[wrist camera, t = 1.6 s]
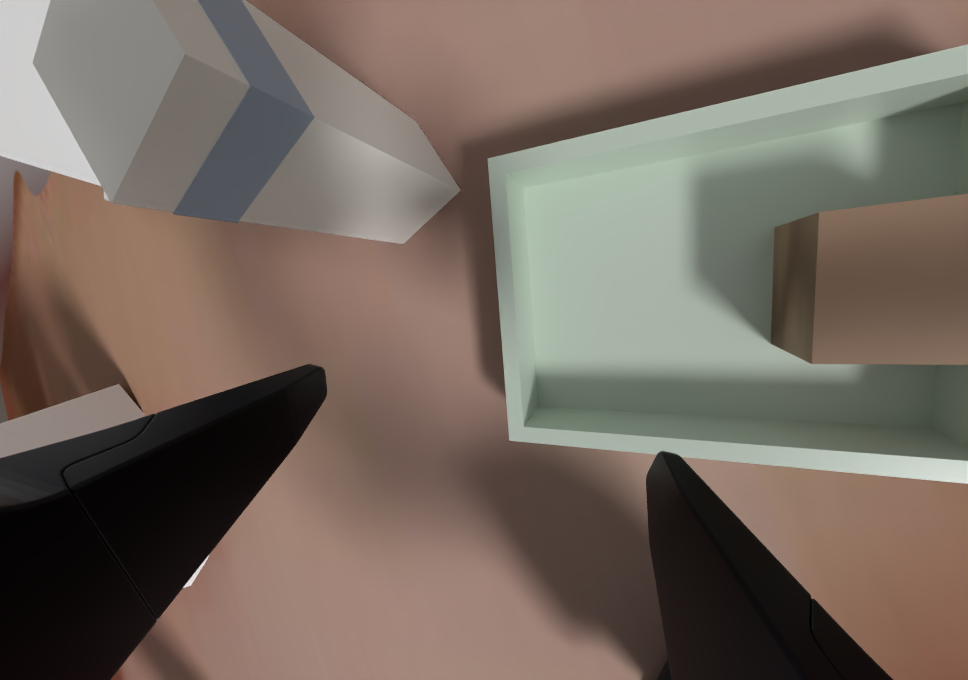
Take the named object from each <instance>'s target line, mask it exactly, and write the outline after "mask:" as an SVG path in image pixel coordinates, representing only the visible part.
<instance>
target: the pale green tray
mask: <svg viewBox="0 0 968 680" xmlns="http://www.w3.org/2000/svg"><path fill="white" fill-rule="evenodd" d="M488 170H489V183H490V196H491V209H492V222H493V235H494V248H495V261H496V274H497V287H498V300H499V313H500V326H501V339H502V352H503V365H504V378H505V391H506V404H507V417H508V430H509V441H518V442H528V443H539V444H550V445H560V446H571V447H582V448H593V449H603V450H614V451H625V452H635V453H646V454H658V453H659V452H660V451H666V452H671V453H675V454H678V455H679V456H680V457H689V458H699V459H710V460H721V461H731V462H742V463H753V464H763V465H774V466H785V467H795V468H806V469H817V470H828V471H838V472H849V473H860V474H870V475H881V476H892V477H902V478H913V479H924V480H934V481H945V482H956V483H966V484H968V365H902V364H810V363H808V362H806V361H804V360H802V359H800V358H798V357H796V356H794V355H792V354H790V353H788V352H786V351H784V350H782V349H780V348H778V347H776V346H774V345H772V344H771V321H772V290H773V258H774V228H775V227H778V226H780V225H783V224H786V223H789V222H792V221H795V220H798V219H801V218H804V217H807V216H810V215H812V214H815V213H818V212H825V211H833V210H841V209H849V208H857V207H865V206H873V205H881V204H889V203H897V202H905V201H913V200H921V199H929V198H937V197H945V196H953V195H961V194H968V44H967V45H963V46H959V47H955V48H951V49H946V50H942V51H938V52H934V53H930V54H925V55H921V56H917V57H913V58H908V59H904V60H900V61H896V62H892V63H887V64H883V65H879V66H875V67H871V68H866V69H862V70H858V71H854V72H850V73H845V74H841V75H837V76H833V77H828V78H824V79H820V80H816V81H812V82H807V83H803V84H799V85H795V86H791V87H786V88H782V89H778V90H774V91H769V92H765V93H761V94H757V95H753V96H748V97H744V98H740V99H736V100H732V101H727V102H723V103H719V104H715V105H711V106H706V107H702V108H698V109H694V110H689V111H685V112H681V113H677V114H673V115H668V116H664V117H660V118H656V119H652V120H647V121H643V122H639V123H635V124H631V125H626V126H622V127H618V128H614V129H609V130H605V131H601V132H597V133H593V134H588V135H584V136H580V137H576V138H572V139H567V140H563V141H559V142H555V143H551V144H546V145H542V146H538V147H534V148H529V149H525V150H521V151H517V152H513V153H508V154H504V155H500V156H496V157H492V158H488Z"/></svg>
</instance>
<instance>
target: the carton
mask: <svg viewBox="0 0 968 680" xmlns="http://www.w3.org/2000/svg"><path fill="white" fill-rule="evenodd" d="M32 63H33V65H34V67H35V68H36V70H37V72H38V74H39V76H40V77H41V79H42V81H43V83H44V84H45V86H46V88H47V90H48V92H49V93H50V95H51V97H52V99H53V101H54V102H55V104H56V106H57V108H58V109H59V111H60V113H61V115H62V117H63V118H64V120H65V122H66V124H67V126H68V127H69V129H70V131H71V133H72V134H73V136H74V138H75V140H76V142H77V143H78V145H79V147H80V149H81V151H82V152H83V154H84V156H85V158H86V159H87V161H88V163H89V165H90V167H91V168H92V170H93V172H94V174H95V175H96V177H97V179H98V181H99V183H100V184H101V186H102V188H103V190H104V192H105V193H106V195H107V197H108V199H109V200H110V202H111V203H112V204H119V205H126V206H134V207H141V208H148V209H155V210H162V211H170V212H173V214H175V215H182V216H190V217H197V218H204V219H212V220H219V221H227V222H234V223H238V221H241V222H249V223H256V224H263V225H270V226H277V227H285V228H292V229H299V230H306V231H313V232H320V233H328V234H335V235H342V236H349V237H356V238H364V239H371V240H378V241H385V242H392V243H400V244H404V243H405V242H406V241H407V240H409V239H410V238H411V237H412V236H413V235H414V234H415V233H416V232H417V231H418V230H419V229H420V228H421V227H422V226H423V225H425V224H426V223H427V222H428V221H429V220H430V219H431V218H432V217H433V216H434V215H435V214H436V213H437V212H438V211H440V210H441V209H442V208H443V207H444V206H445V205H446V204H447V203H448V202H449V201H450V200H451V199H452V198H453V197H454V196H456V195H457V194H458V193H459V192H460V191H461V190H460V188H459V187H458V185H457V184H456V182H455V181H454V179H453V178H452V176H451V175H450V173H449V171H448V170H447V168H446V167H445V165H444V164H443V162H442V161H441V159H440V158H439V156H438V155H437V153H436V151H435V150H434V148H433V147H432V145H431V144H430V142H429V141H428V139H427V138H426V136H425V134H424V133H423V131H422V130H421V128H420V127H419V125H418V124H417V122H416V121H415V120H413V119H412V118H410V117H409V116H408V115H406V114H405V113H403V112H402V111H401V110H399V109H398V108H396V107H395V106H394V105H392V104H391V103H389V102H388V101H386V100H385V99H384V98H382V97H381V96H379V95H378V94H377V93H375V92H374V91H372V90H371V89H370V88H368V87H367V86H365V85H364V84H363V83H361V82H360V81H358V80H357V79H356V78H354V77H353V76H351V75H350V74H348V73H347V72H346V71H344V70H343V69H341V68H340V67H339V66H337V65H336V64H334V63H333V62H332V61H330V60H329V59H327V58H326V57H325V56H323V55H322V54H320V53H319V52H318V51H316V50H315V49H313V48H312V47H311V46H309V45H308V44H306V43H305V42H303V41H302V40H301V39H299V38H298V37H296V36H295V35H294V34H292V33H291V32H289V31H288V30H287V29H285V28H284V27H282V26H281V25H280V24H278V23H277V22H275V21H274V20H273V19H271V18H270V17H268V16H267V15H266V14H264V13H263V12H261V11H260V10H258V9H257V8H256V7H254V6H253V5H251V4H250V3H249V2H247V1H246V0H50V4H49V7H48V11H47V14H46V18H45V21H44V24H43V28H42V31H41V35H40V38H39V42H38V45H37V49H36V52H35V56H34V59H33V62H32Z"/></svg>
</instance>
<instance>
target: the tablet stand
mask: <svg viewBox="0 0 968 680" xmlns="http://www.w3.org/2000/svg"><path fill="white" fill-rule="evenodd" d="M49 4H50V0H0V156H3V157H6V158H9V159H13V160H16V161H19V162H23V163H26V164H30V165H33V166H36V167H39V168H43V169H46V170H49V171H53V172H56V173H59V174H63V175H66V176H69V177H73V178H76V179H79V180H83V181H86V182H89V183H93V184H96V185H99V186H101V184H100V183H99V181H98V179H97V177H96V175H95V174H94V172H93V170H92V168H91V167H90V165H89V163H88V161H87V159H86V158H85V156H84V154H83V152H82V151H81V149H80V147H79V145H78V143H77V142H76V140H75V138H74V136H73V134H72V133H71V131H70V129H69V127H68V126H67V124H66V122H65V120H64V118H63V117H62V115H61V113H60V111H59V109H58V108H57V106H56V104H55V102H54V101H53V99H52V97H51V95H50V93H49V92H48V90H47V88H46V86H45V84H44V83H43V81H42V79H41V77H40V76H39V74H38V72H37V70H36V68H35V67H34V65H33V63H32V62H33V59H34V56H35V52H36V49H37V45H38V42H39V38H40V35H41V31H42V28H43V24H44V21H45V18H46V14H47V11H48V7H49ZM104 199H105V200H107V201H110V200H109V199H108V197H107V195H106V193H105V192H104Z"/></svg>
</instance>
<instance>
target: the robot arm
mask: <svg viewBox="0 0 968 680" xmlns="http://www.w3.org/2000/svg"><path fill="white" fill-rule="evenodd" d="M326 395H327V385H326V376H325V370H324V369H323V368H322V367H320V366H316V365H312V364H307V365H304V366H301V367H298V368H295V369H292V370H289V371H285V372H282V373H279V374H276V375H273V376H270V377H267V378H264V379H261V380H257V381H254V382H251V383H248V384H245V385H242V386H239V387H236V388H233V389H229V390H226V391H223V392H220V393H217V394H214V395H211V396H208V397H205V398H201V399H198V400H195V401H192V402H189V403H186V404H183V405H180V406H177V407H173V408H170V409H167V410H164V411H161V412H158V413H157V414H151V415H148V416H145V417H142V418H139V419H136V420H133V421H130V422H126V423H123V424H120V425H117V426H113V427H110V428H107V429H104V430H100V431H96V432H93V433H89V434H86V435H82V436H79V437H75V438H72V439H68V440H64V441H61V442H57V443H53V444H50V445H46V446H42V447H39V448H35V449H31V450H28V451H24V452H20V453H17V454H13V455H9V456H6V457H2V458H0V680H111V678H112V677H113V676H114V675H115V673H116V672H117V671H118V670H119V668H120V667H121V666H122V665H123V663H124V662H125V661H126V660H127V658H128V657H129V656H130V654H131V653H132V652H133V651H134V649H135V648H136V647H137V646H138V644H139V643H140V642H141V641H142V639H143V638H144V637H145V635H146V634H147V633H148V632H149V630H150V629H151V628H152V627H153V625H154V624H155V623H156V621H157V619H158V618H159V617H160V616H161V615H162V614H163V612H164V611H165V610H166V609H167V607H168V606H169V605H170V603H171V602H172V601H173V600H174V598H175V597H176V596H177V595H178V593H179V592H180V591H181V590H182V588H183V587H184V586H185V584H186V583H187V582H188V581H189V579H190V578H191V577H192V576H193V574H194V573H195V572H196V571H197V569H198V568H199V567H200V566H201V564H202V563H203V562H204V560H205V559H206V558H207V557H208V555H209V554H210V553H211V552H212V550H213V549H214V548H215V547H216V545H217V544H218V543H219V541H220V540H221V539H222V538H223V536H224V535H225V534H226V533H227V531H228V530H229V529H230V528H231V526H232V525H233V524H234V523H235V521H236V520H237V519H238V517H239V516H240V515H241V514H242V512H243V511H244V510H245V509H246V507H247V506H248V505H249V504H250V502H251V501H252V500H253V498H254V497H255V496H256V495H257V493H258V492H259V491H260V490H261V488H262V487H263V486H264V485H265V483H266V482H267V481H268V480H269V478H270V477H271V476H272V474H273V473H274V472H275V471H276V469H277V468H278V467H279V466H280V464H281V463H282V462H283V461H284V459H285V458H286V457H287V455H288V454H289V453H290V452H291V450H292V449H293V448H294V446H295V445H296V444H297V442H298V441H299V439H300V438H301V436H302V435H303V433H304V431H305V430H306V428H307V427H308V425H309V424H310V422H311V420H312V419H313V417H314V416H315V414H316V413H317V411H318V409H319V408H320V406H321V405H322V403H323V402H324V400H325V398H326ZM646 491H647V510H648V529H649V543H650V550H651V556H652V562H653V568H654V574H655V580H656V586H657V592H658V598H659V604H660V610H661V616H662V622H663V628H664V634H665V640H666V646H667V652H668V658H669V659H668V661H667V663H666V665H665V667H664V669H663V670H662V672H661V674H660V676H659V678H658V680H893V679H892V678H891V677H890V676H889V675H888V674H887V673H886V672H885V671H884V670H883V669H882V668H881V667H880V666H879V665H878V664H877V663H876V662H875V661H874V660H873V659H872V658H871V657H870V656H869V655H868V654H867V653H866V652H865V651H864V650H863V649H862V648H861V647H860V646H859V645H858V644H857V643H856V642H855V641H854V640H853V639H852V638H851V637H850V636H849V635H848V634H847V633H846V632H845V631H844V630H843V629H842V627H841V626H840V625H839V624H838V623H837V622H836V621H835V620H834V619H833V618H832V617H831V616H830V615H829V614H828V613H827V612H826V611H825V610H824V609H823V607H822V606H821V605H820V604H819V603H818V602H817V601H816V600H815V599H811V595H810V594H809V593H808V592H807V591H806V590H805V588H804V587H803V586H802V585H801V584H800V583H799V582H798V581H797V580H796V579H795V578H794V577H793V576H792V575H791V574H790V573H789V571H788V570H787V569H786V568H785V567H784V566H783V565H782V564H781V563H780V562H779V561H778V560H777V559H776V558H775V557H774V556H773V554H772V553H771V552H770V551H769V550H768V549H767V548H766V547H765V546H764V545H763V544H762V543H761V542H760V541H759V540H758V538H757V537H756V536H755V535H754V534H753V533H752V532H751V531H750V530H749V529H748V528H747V527H746V526H745V525H744V524H743V523H742V521H741V520H740V519H739V518H738V517H737V516H736V515H735V514H734V513H733V512H732V511H731V510H730V509H729V508H728V507H727V506H726V504H725V503H724V502H723V501H722V500H721V499H720V498H719V497H718V496H717V495H716V494H715V493H714V492H713V491H712V490H711V489H710V487H709V486H708V485H707V484H706V483H705V482H704V481H703V480H702V479H701V478H700V477H699V476H698V475H697V474H696V473H695V471H694V470H693V469H692V468H691V467H690V466H689V465H688V464H687V463H686V462H685V461H684V460H683V459H682V458H681V457H680V456H679V455H678V454H675V453H671V452H666V451H660V452H659V453H658V454H657V456H656V458H655V460H654V461H653V463H652V465H651V467H650V469H649V471H648V473H647V477H646Z"/></svg>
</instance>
